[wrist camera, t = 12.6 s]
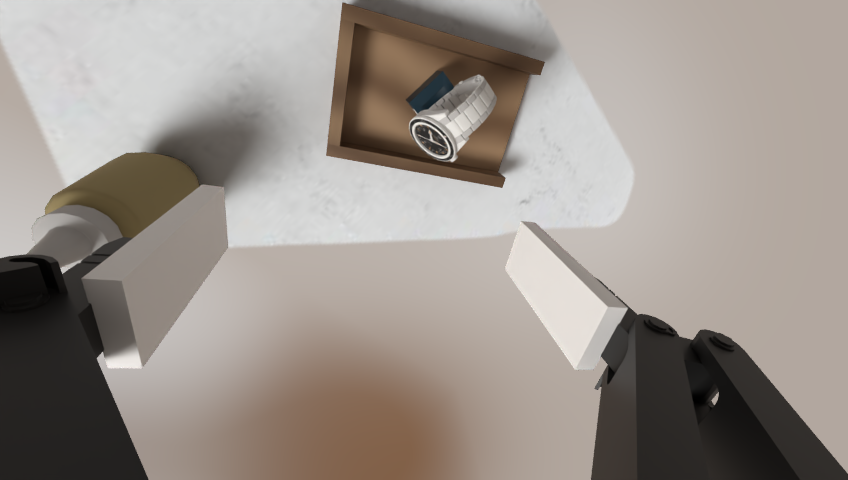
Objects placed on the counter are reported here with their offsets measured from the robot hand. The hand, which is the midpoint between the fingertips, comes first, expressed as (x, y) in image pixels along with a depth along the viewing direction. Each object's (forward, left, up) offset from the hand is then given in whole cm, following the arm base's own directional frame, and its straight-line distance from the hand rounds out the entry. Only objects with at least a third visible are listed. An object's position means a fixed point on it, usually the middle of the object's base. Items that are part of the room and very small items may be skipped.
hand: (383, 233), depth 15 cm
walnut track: (-4, +6, -26) cm, 27 cm away
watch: (-4, +7, -25) cm, 26 cm away
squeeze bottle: (+9, -20, -26) cm, 34 cm away
